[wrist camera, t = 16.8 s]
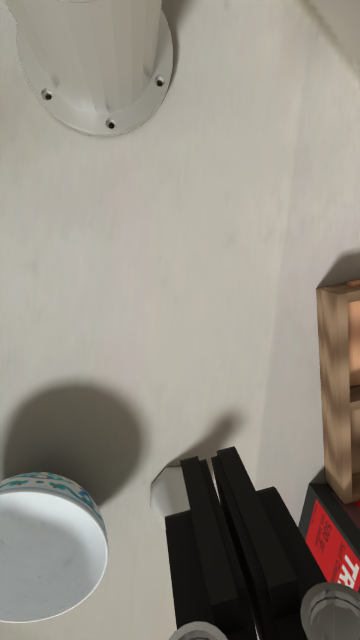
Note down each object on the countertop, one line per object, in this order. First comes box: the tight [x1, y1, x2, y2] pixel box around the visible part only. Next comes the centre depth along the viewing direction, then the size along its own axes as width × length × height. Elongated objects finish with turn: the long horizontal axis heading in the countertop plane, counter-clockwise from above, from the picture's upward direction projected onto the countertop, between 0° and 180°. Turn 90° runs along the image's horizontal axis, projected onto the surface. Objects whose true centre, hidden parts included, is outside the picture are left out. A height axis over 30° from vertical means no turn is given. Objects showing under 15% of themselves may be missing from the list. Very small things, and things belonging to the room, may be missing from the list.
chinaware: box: [0, 472, 108, 623], centre depth 35 cm, size 15×15×8 cm
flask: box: [150, 467, 190, 530], centre depth 36 cm, size 7×7×10 cm
